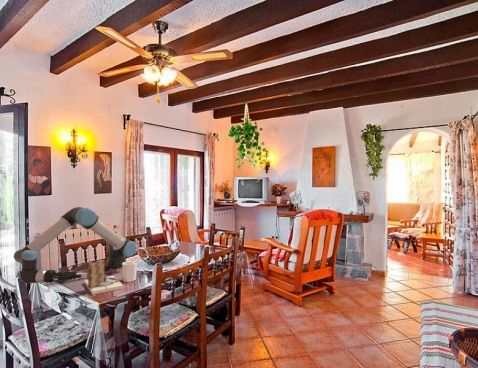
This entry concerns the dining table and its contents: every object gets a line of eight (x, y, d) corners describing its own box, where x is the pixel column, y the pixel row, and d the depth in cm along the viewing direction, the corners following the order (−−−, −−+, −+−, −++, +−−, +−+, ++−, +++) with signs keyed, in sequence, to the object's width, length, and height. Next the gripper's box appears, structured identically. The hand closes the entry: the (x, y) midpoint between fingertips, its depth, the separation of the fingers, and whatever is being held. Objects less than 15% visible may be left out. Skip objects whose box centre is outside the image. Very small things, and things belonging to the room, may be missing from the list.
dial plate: (113, 278, 202) (113, 275, 202) (123, 288, 183) (123, 285, 183) (84, 283, 191) (84, 280, 191) (92, 294, 172) (92, 291, 172)
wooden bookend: (101, 278, 196) (102, 256, 196) (119, 279, 193) (120, 257, 193) (79, 288, 176) (80, 263, 176) (99, 290, 173) (99, 265, 173)
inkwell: (64, 277, 201) (64, 263, 201) (93, 273, 212) (93, 260, 212) (65, 281, 194) (65, 266, 194) (95, 277, 204) (95, 263, 204)
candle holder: (118, 280, 198) (119, 263, 198) (131, 276, 206) (131, 260, 206) (127, 283, 193) (127, 265, 193) (139, 279, 201) (140, 262, 201)
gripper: (51, 278, 182) (91, 278, 185) (40, 286, 169) (83, 285, 172) (52, 267, 182) (91, 266, 185) (40, 273, 169) (83, 272, 172)
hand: (87, 275), depth 178 cm, fingers closed
